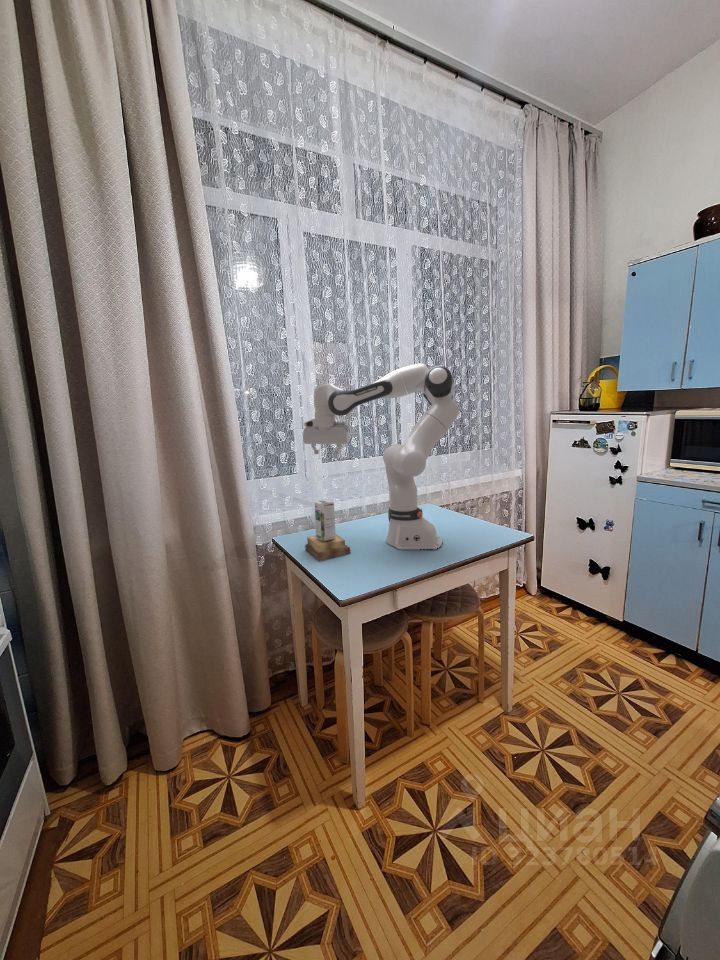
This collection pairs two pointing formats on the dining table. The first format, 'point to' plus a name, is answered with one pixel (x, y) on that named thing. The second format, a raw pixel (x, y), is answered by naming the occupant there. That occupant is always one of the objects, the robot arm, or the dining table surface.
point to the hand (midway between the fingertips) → (326, 454)
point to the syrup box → (324, 520)
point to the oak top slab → (325, 544)
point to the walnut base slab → (327, 553)
